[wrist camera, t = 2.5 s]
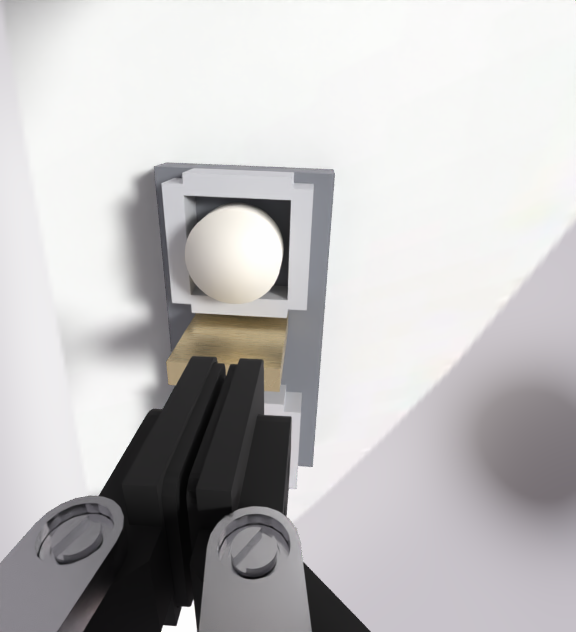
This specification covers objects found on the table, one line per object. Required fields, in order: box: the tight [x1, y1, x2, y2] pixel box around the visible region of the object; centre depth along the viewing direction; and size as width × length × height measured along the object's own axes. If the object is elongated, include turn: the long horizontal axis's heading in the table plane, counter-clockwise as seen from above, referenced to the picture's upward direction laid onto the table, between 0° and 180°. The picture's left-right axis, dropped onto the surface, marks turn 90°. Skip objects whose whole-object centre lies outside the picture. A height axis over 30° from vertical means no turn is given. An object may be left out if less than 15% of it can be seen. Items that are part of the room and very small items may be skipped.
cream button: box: [185, 202, 284, 304], centre depth 20 cm, size 4×4×2 cm
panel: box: [154, 163, 335, 489], centre depth 25 cm, size 20×9×4 cm, turn 178°
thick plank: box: [166, 312, 289, 392], centre depth 21 cm, size 1×5×6 cm, turn 88°
